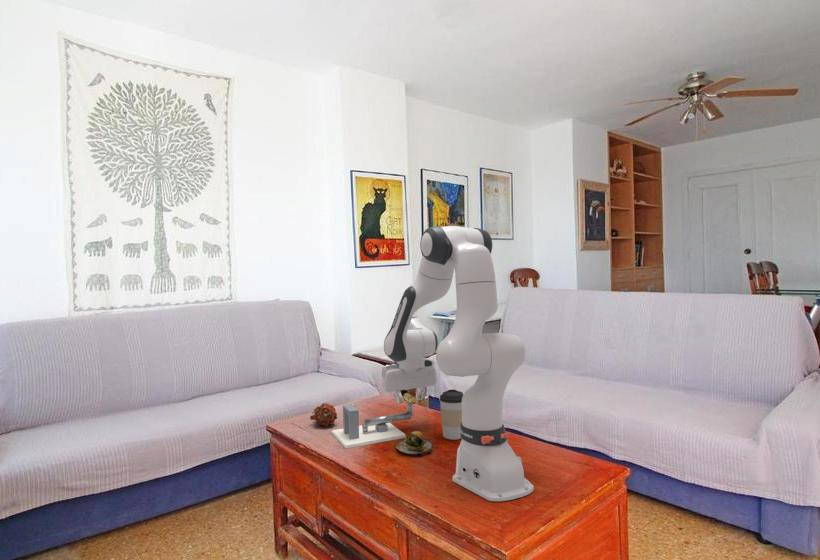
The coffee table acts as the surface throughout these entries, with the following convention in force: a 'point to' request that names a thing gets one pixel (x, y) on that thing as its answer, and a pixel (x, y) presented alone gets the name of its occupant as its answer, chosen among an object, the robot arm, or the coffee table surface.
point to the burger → (415, 444)
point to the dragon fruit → (324, 415)
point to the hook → (393, 417)
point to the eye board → (355, 436)
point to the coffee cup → (451, 413)
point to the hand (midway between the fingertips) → (409, 401)
